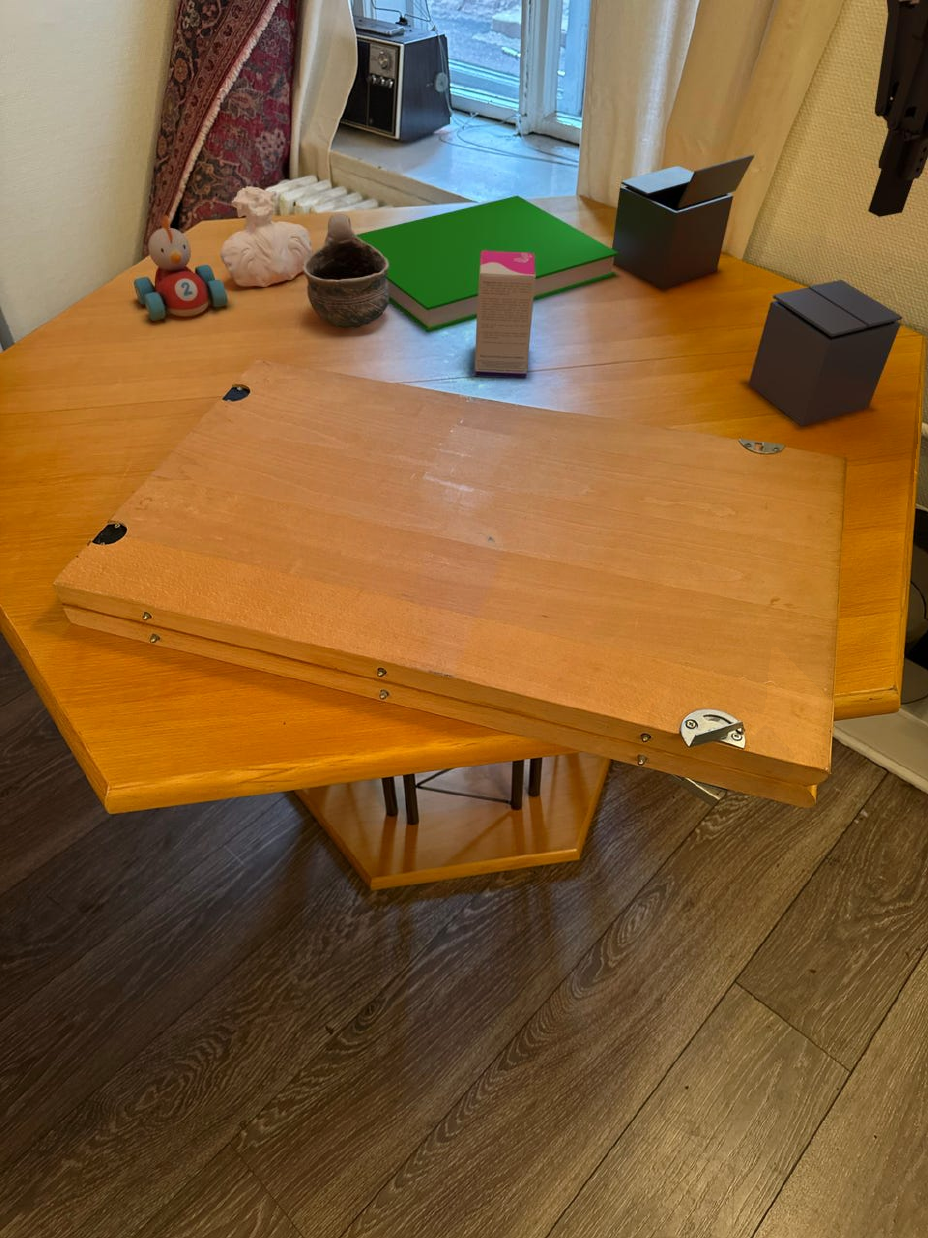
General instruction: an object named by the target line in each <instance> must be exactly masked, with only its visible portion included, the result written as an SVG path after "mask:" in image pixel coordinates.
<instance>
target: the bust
mask: <svg viewBox="0 0 928 1238" xmlns="http://www.w3.org/2000/svg"><path fill="white" fill-rule="evenodd" d="M276 196H277V191H276V190H273V191H269V190H265V189H262V188H261V187H256V186H252V185H249V186H248V185H246V187H243V188H241V189H239V190H238V191H237V193H236V196H235V197H234V198H233V199H232V201H230V202H231V207H233V208H234V209H236V212H237V217H238V218H242V217H243V216H245V222H244V226H243V228H244V229H243V230H239V231H236V232H234V233H233V234H232V235H230V236H229V238H228V239H227V240H225V241H224V242H223V244H222V246H221V250H220V253H219V257H220V258H221V262H222V263H223V264H224V266H225V269H226V270H227V271H228V273H229V275H230V276H231V278H232V279H233V281H234V283H236V285H238V286H240V287H255V286H256V287H262V288H267V287H269V286H271V285H273V284H277V283H280V282H284V281H291V280H293V279H294V278H296V276H297V275H298V274H300V273H303V270H302V267H303V262H304V260H305V259H306V257H307V256H308V255H309V254H310V253H311V252H313V247H312V245H313V244H312V238H311V237H310V232H309V230H308V229H307V228H306V227H304V226H303V225H301V224H299V223H292V222H288V221H283V220H279V221H277V222H274V221H272V215H273V213H274V212H275V206H274V204H273V203H277V200H276V199H277V198H276Z"/></svg>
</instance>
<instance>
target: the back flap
mask: <svg viewBox="0 0 928 1238" xmlns="http://www.w3.org/2000/svg"><path fill="white" fill-rule="evenodd" d="M754 158H755V154H749V155H746V156H741V157H739V158H734V159H732V160H729V161H725V162H721V163H717V164H714V165H710V166H707V167H703V168H700V169H697V170H694V171H693V172H694V174H693V176H692V178H691V180H690V182H689V184H688V186H687V188H686V190H685V192H684V194H683V196H682V198H681V200H680V202H679V204H678V206H677V207H678V208H681V207H685V206H688V205H691V204H695V203H698V202H701V201H704V200H708V199H711V198H714V197H718V196H721V195H724V194H727V193H729V194H731V193H733V192H736V191H737V189H738V187H739V185H740V184H741V182H742V180H743V178H744V176H745V175H746V173H747V171H748V169H749V167H750V166H751V163H752V161H753V160H754Z"/></svg>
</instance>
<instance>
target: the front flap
mask: <svg viewBox="0 0 928 1238" xmlns="http://www.w3.org/2000/svg"><path fill="white" fill-rule="evenodd" d="M807 288H809V289H811V290H812V291H814V292H815V293H817V294H818V295H820V296H822V297H823V298H825V299H826V300H828V301H829V302H831V303H833V304H834V305H836V306H837V307H839V308H841V309H842V310H844V311H845V312H847V313H848V314H850V315H852V316H853V317H855V318H856V319H858V320H859V321H861V322H863V323H864V324H866V325H867V327H871V326H876V325H880V324H885V323H889V322H893V321H897V322H899V321H902V320H903V316H902V315H900V314H899V313H897V312H896V311H894V310H892V309H890V308H889V307H888V306H886V305H884V304H882V303H880V302H879V301H877V300H876V299H874V298H872V297H871V296H869V295H868V294H866V293H864V292H863V291H861V290H859V289H857V288H856V287H854V286H853V285H850V284H849V283H847V282H846V281H844V280H843V279H839V280H838V279H837V280H834V281H833V280H832V281H828V282H824V283H818V284H813V285H808V287H807Z"/></svg>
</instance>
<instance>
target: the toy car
mask: <svg viewBox="0 0 928 1238" xmlns="http://www.w3.org/2000/svg"><path fill="white" fill-rule="evenodd" d="M160 227H161V228H159V229H157V230H156V231H154V232H153V233H152V234H151V236H150V237H149V239H148V240H149V241H148V245H147V246H148V247H147V248H148V249H147V250H148V253H149V256H150V259H151V260H152V262H153V263H154V265H156V267H157V269H156V271H155V276H154V284H153V282H152V281H151V279H150V278H149V276H143V277H139V278H135V279H134V280H133V286H134V290H135V293H136V296H137V299H138V301H139V303H140V304H141V305H143V306H145V308H146V311H147V314H148V317H149V318H150V319H151V321H154V322H155V321H161V320H164V319H165V318H166V316H167V315H166V313H169V314H171V315H174V316H176V317H192V316H193V317H194V316H197V315H199V314H201V313H203V312H204V311H205V310H206V309H207V308H208V306H209V304H211V306H213V307H214V308H220V307H225V306H227V305H228V301H229V299H228V293H227V290H226V287H225V285H224V282H223V281H222V280H220V279H216V277H215V274H214V271H213V269H212V267H211V265H209V264H203V265H197V266H196V267H195V268H194V271H192V269H190V268H189V267H188V266H187V265H188V264H189V262H190V260H191V257H192V248H191V245H190V242H189V240H188V238H187V237H186V235H185V234H183V232H181V231H179V230H178V229H176V228H172V227H170V220H169V216H168V215H164V216H163V218H162V220H160Z"/></svg>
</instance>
